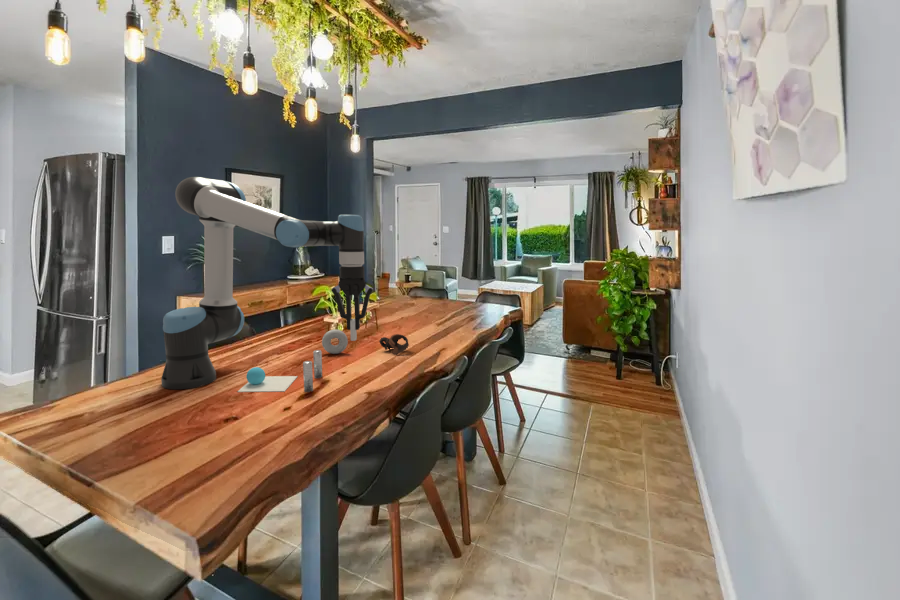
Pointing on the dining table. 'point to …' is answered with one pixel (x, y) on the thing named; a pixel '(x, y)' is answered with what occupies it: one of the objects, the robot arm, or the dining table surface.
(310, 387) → the post
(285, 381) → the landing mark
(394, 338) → the dark brown looped sculpture
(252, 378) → the ball
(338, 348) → the donut
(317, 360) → the post
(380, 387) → the dining table surface
